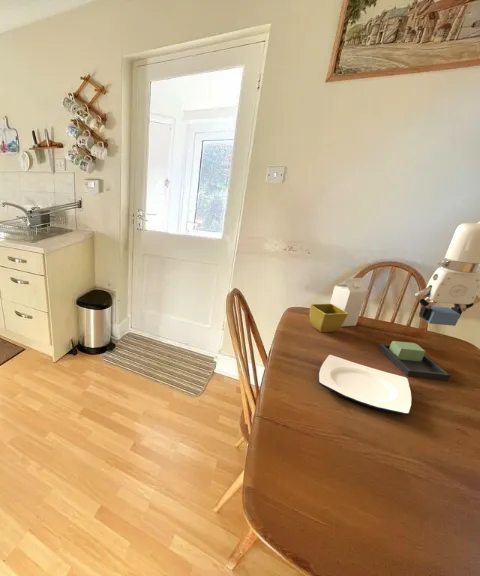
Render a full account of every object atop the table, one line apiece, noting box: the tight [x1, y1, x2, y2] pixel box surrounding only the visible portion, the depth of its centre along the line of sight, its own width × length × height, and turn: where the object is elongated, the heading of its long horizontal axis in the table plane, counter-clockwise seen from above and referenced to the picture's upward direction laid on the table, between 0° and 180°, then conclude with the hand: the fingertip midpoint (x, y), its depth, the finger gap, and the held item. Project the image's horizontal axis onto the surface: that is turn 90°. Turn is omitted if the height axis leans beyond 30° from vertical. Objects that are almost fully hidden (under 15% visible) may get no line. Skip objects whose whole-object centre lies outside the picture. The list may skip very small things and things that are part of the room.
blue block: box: [424, 305, 461, 327], centre depth 98 cm, size 6×5×4 cm
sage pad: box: [389, 340, 427, 362], centre depth 103 cm, size 6×5×4 cm
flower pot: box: [308, 303, 348, 333], centre depth 120 cm, size 9×9×9 cm
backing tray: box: [378, 343, 451, 382], centre depth 100 cm, size 10×16×2 cm, turn 165°
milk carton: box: [329, 277, 368, 328], centre depth 123 cm, size 7×7×19 cm
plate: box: [318, 354, 412, 416], centre depth 90 cm, size 20×20×3 cm
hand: (437, 319), depth 99 cm, fingers closed on blue block, 6 cm apart
